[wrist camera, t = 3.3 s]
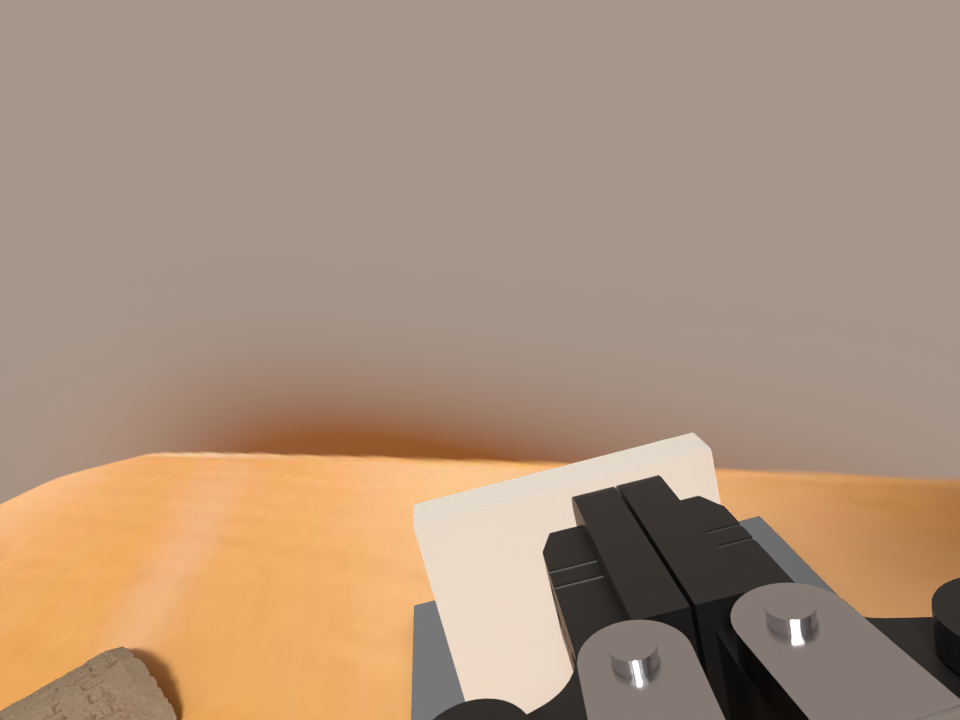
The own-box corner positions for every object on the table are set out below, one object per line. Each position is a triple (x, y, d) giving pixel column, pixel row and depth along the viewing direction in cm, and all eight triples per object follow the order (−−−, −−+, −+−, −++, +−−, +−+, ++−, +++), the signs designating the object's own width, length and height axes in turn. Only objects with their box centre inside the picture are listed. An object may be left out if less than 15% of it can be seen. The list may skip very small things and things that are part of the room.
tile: (749, 752, 28) (692, 431, 25) (768, 786, 27) (711, 449, 23) (505, 816, 28) (414, 503, 25) (510, 854, 27) (413, 526, 23)
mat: (760, 523, 44) (759, 516, 44) (1070, 842, 23) (1070, 830, 23) (416, 612, 44) (414, 605, 44) (408, 1019, 23) (403, 1008, 23)
